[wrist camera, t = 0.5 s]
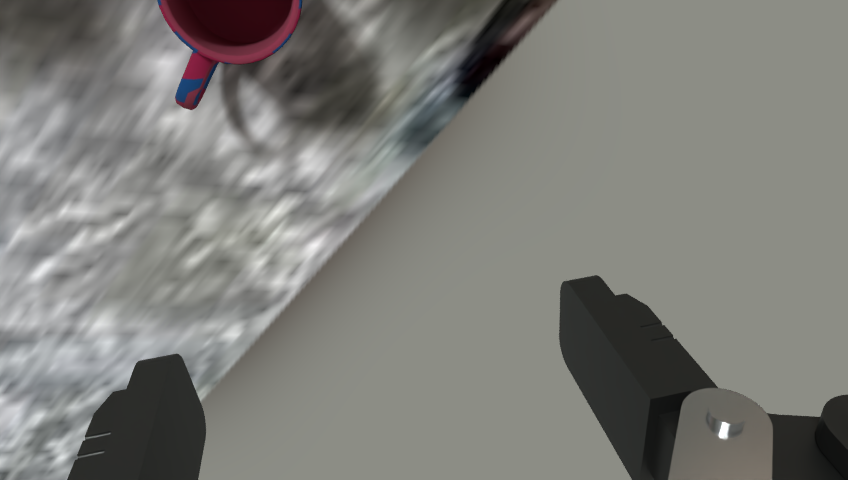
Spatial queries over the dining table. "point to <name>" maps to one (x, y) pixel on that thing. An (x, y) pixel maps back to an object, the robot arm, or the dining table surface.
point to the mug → (226, 36)
